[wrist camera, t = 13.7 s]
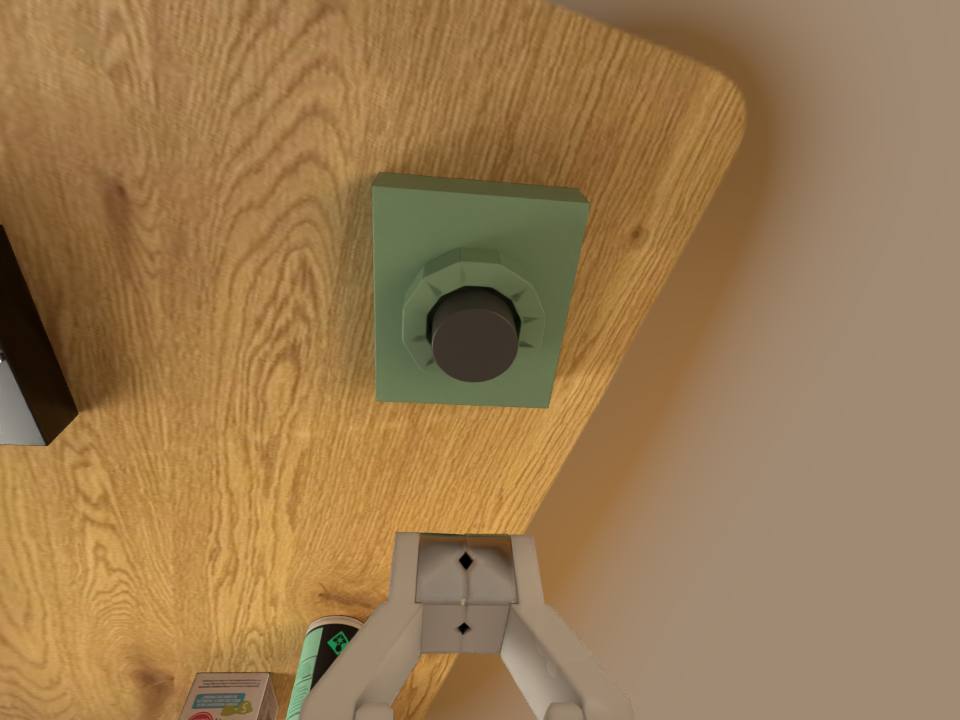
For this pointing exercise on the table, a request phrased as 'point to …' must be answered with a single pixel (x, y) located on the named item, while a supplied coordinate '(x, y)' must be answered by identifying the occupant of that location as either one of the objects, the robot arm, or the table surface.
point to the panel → (27, 365)
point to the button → (474, 336)
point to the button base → (471, 280)
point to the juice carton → (231, 697)
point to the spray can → (320, 655)
